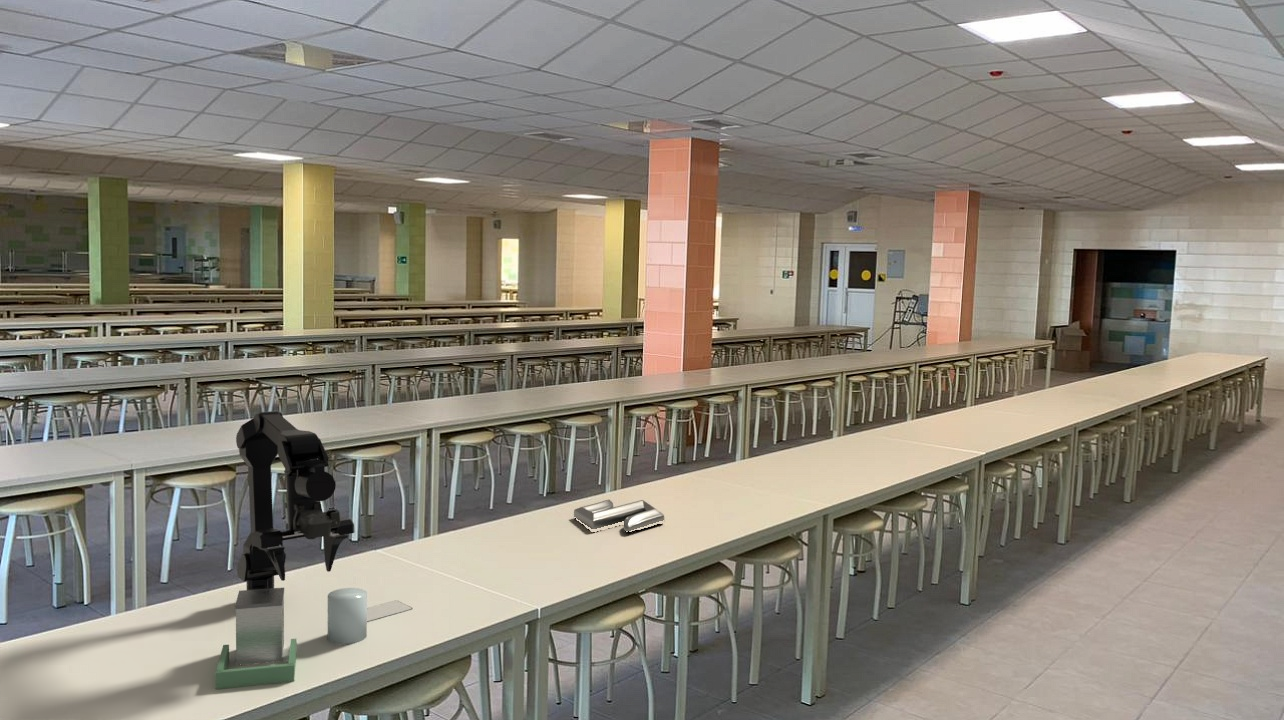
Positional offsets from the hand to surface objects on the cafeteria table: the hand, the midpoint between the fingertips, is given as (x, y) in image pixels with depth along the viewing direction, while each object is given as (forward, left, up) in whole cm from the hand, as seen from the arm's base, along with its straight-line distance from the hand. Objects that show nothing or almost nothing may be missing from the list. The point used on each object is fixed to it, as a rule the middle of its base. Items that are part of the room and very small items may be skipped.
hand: (306, 575), depth 182 cm
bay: (+10, -8, -14) cm, 19 cm away
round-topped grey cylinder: (-2, +8, -14) cm, 16 cm away
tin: (+3, -8, -14) cm, 17 cm away
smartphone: (-14, +14, -15) cm, 24 cm away
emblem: (-73, +88, -15) cm, 115 cm away
